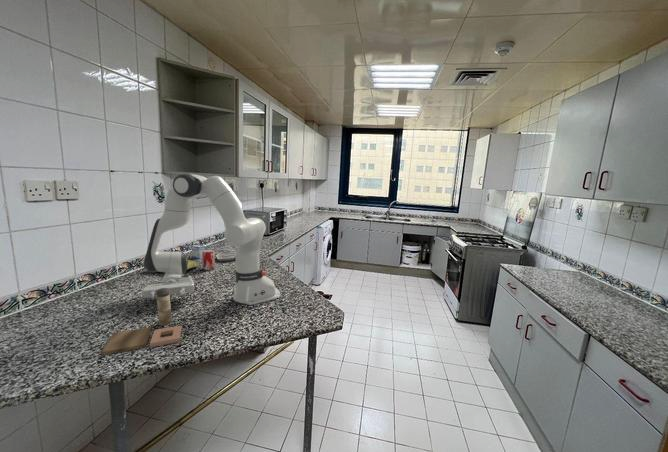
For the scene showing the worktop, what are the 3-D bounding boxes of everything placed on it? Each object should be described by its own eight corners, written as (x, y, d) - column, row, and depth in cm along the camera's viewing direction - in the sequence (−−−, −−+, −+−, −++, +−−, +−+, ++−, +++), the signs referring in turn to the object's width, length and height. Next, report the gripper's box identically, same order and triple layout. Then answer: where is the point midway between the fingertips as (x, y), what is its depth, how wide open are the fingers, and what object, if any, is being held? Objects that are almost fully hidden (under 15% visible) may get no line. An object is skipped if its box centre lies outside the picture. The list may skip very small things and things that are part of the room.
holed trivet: (182, 328, 108) (181, 325, 108) (179, 341, 100) (179, 337, 99) (154, 333, 104) (154, 329, 104) (150, 347, 96) (149, 343, 96)
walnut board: (152, 329, 107) (151, 326, 106) (145, 347, 96) (145, 344, 96) (113, 335, 102) (113, 332, 102) (102, 355, 91) (101, 352, 91)
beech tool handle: (172, 318, 115) (169, 287, 112) (171, 324, 111) (168, 291, 108) (160, 320, 113) (157, 288, 110) (158, 326, 109) (155, 293, 107)
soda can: (210, 271, 171) (209, 252, 169) (200, 270, 172) (199, 251, 170) (217, 267, 178) (216, 249, 175) (207, 266, 179) (206, 248, 177)
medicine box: (191, 257, 197) (190, 245, 195) (196, 256, 201) (196, 244, 199) (199, 259, 194) (199, 247, 192) (205, 257, 198) (204, 245, 196)
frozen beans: (177, 268, 158) (141, 263, 163) (178, 277, 159) (142, 272, 164) (202, 258, 178) (169, 255, 183) (202, 267, 179) (170, 263, 184)
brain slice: (240, 262, 191) (240, 257, 191) (214, 263, 186) (214, 259, 186) (241, 254, 210) (241, 250, 209) (217, 255, 205) (217, 251, 204)
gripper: (144, 280, 127) (137, 292, 114) (194, 275, 135) (193, 285, 122) (146, 293, 128) (139, 306, 115) (195, 287, 136) (193, 299, 124)
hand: (167, 295), depth 119 cm, fingers open, 8 cm apart
